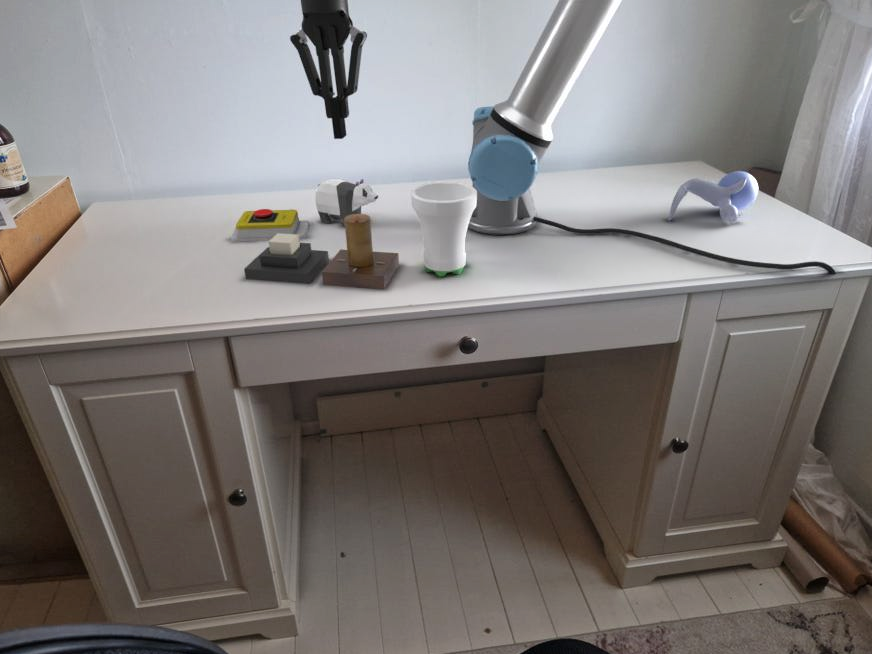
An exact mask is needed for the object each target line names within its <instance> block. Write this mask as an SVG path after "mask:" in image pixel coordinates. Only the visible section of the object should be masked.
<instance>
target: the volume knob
mask: <svg viewBox="0 0 872 654" xmlns="http://www.w3.org/2000/svg"><path fill="white" fill-rule="evenodd" d="M344 222H345V226H344V231H345V241H346V250H347V253H348V263H349V264H350V265H351V266H355V267H364V266H368V265H371V264H372V263H373V261H374V260H373V252H374V248H373V247H374V246H373V236H372V235H373V234H372V223H371V216H370V215H368V214H367V213H361V214H352V215H348V216H346V217H345V218H344Z"/></svg>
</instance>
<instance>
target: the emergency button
mask: <svg viewBox="0 0 872 654" xmlns="http://www.w3.org/2000/svg"><path fill="white" fill-rule="evenodd" d="M310 226H311V223H310V221H309V220H300V217H299V213H298V210H297V209H269V208H261V209H257V210H246V211H243V213H242V214H241V216H240V217H239V219H238V220H237V222H236V224H235V229H234V230H233V232H232V233H231V235H230V236H229V238H230V241H231V242H234V243H235V242H237V243H238V242H260V241H261V242H266V241H268V242H269V241H270V240H271V239H272V238H273V237H274V236H275V235H276V234H278V233H280V234H297V235H299V241H301V240H304V239H305V238H306V236H307V233H308V231H309V228H310Z"/></svg>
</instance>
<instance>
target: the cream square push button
mask: <svg viewBox="0 0 872 654" xmlns="http://www.w3.org/2000/svg"><path fill="white" fill-rule="evenodd" d="M300 243H301V242H300V240H299V235H297V234H280V233H278V234H276V235H275V236H274V237H273V238H272V239H271V240H270V241H268V247H270V253H271V254H282V255H293V254H294V253H295V252H296V251H297V250H298V249H299V248H300Z"/></svg>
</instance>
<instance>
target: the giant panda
mask: <svg viewBox="0 0 872 654" xmlns="http://www.w3.org/2000/svg"><path fill="white" fill-rule="evenodd" d="M378 198H379V195H378V194H376V192H374V191H373V189H372V187H371V185H370V184H369V183H367V182H364V179H363V178H362V179H361V180H360V181H356V183H352V182H349V181H346V180H343V179H339V178H331V179H326V180H324V181H323V182H321V183H318V185H317V186H316V191H315V206H316V210H317V214H318V215H319V219H320V222H321V223H324V224H331V223H333V219H337V220H338V219H341V221H342V226H343V227H345V222H344V218H345V217H346V216H348V215H352V214H362V207H365V206H368V205H369V204H371V203H375V202H377V201H376V200H378Z"/></svg>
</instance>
